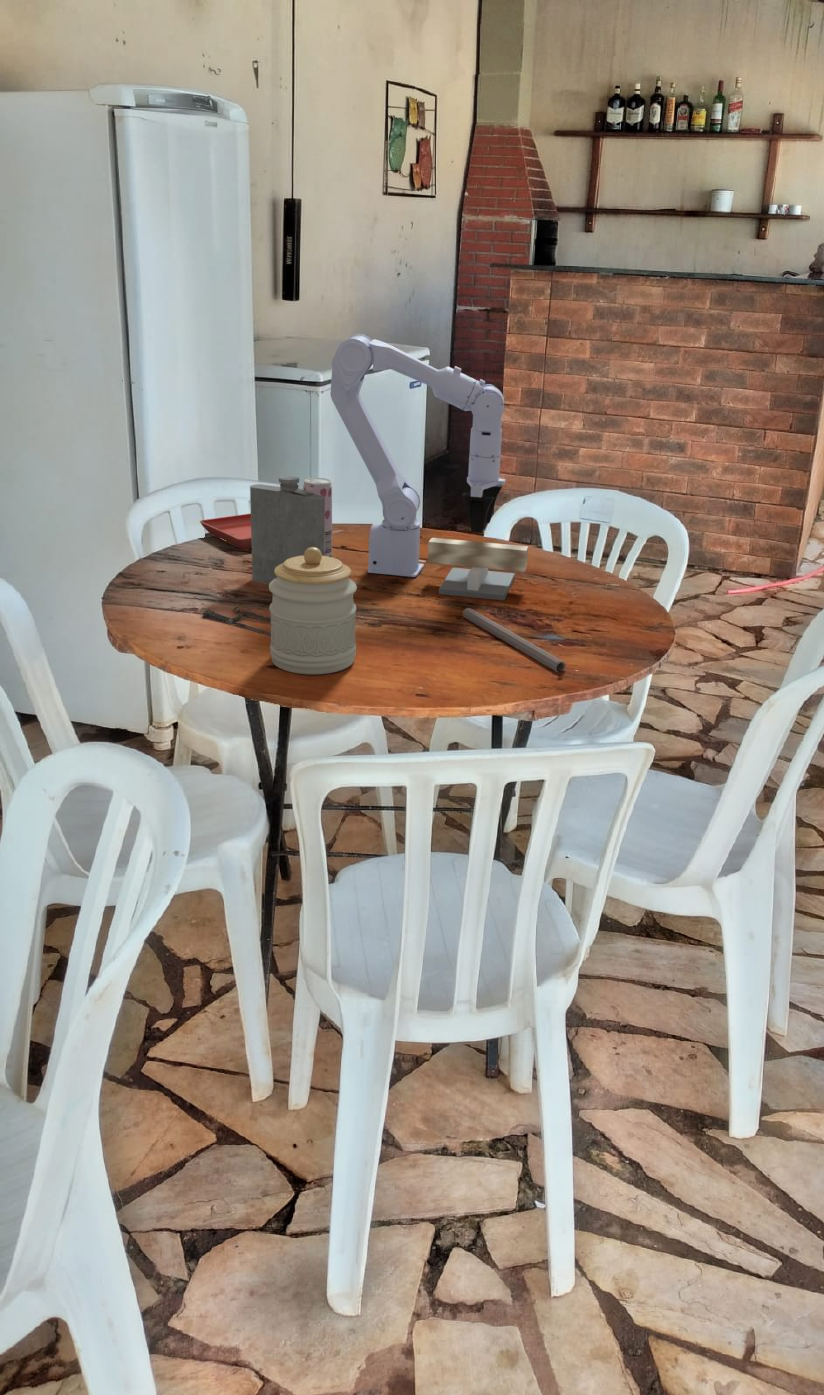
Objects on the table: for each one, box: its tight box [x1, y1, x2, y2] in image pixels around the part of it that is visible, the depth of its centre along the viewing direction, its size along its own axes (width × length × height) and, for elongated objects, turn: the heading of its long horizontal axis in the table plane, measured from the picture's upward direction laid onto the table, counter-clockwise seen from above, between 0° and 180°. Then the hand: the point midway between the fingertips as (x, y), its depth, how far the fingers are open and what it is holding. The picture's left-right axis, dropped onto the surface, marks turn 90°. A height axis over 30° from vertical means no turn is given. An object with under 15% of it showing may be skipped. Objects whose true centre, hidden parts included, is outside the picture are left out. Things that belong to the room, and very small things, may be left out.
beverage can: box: [302, 477, 333, 557], centre depth 215 cm, size 6×6×15 cm
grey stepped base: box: [438, 567, 516, 601], centre depth 202 cm, size 12×14×4 cm
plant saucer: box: [199, 513, 252, 550], centre depth 229 cm, size 18×18×3 cm
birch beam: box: [427, 537, 529, 573], centre depth 201 cm, size 18×3×4 cm, turn 78°
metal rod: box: [462, 607, 566, 673], centre depth 176 cm, size 2×27×2 cm, turn 29°
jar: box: [268, 547, 358, 675], centre depth 162 cm, size 13×13×18 cm
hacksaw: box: [201, 606, 271, 637], centre depth 180 cm, size 24×10×1 cm, turn 57°
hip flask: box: [249, 475, 325, 585], centre depth 195 cm, size 16×4×20 cm, turn 57°
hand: (480, 527), depth 206 cm, fingers open, 7 cm apart
